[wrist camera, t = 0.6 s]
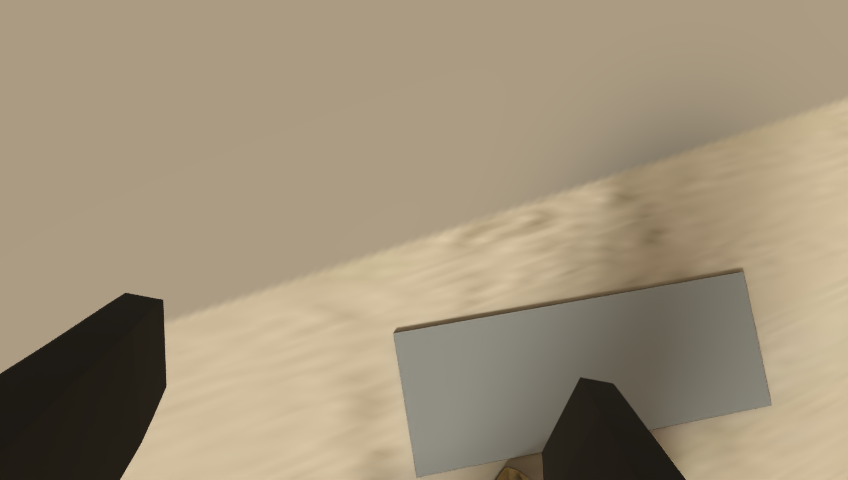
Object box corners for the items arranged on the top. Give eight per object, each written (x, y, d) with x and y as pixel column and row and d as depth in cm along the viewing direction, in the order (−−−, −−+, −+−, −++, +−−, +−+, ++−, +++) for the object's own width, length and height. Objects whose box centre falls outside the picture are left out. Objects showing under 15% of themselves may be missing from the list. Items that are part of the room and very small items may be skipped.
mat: (768, 404, 37) (771, 405, 37) (416, 475, 35) (416, 477, 35) (740, 271, 38) (743, 271, 38) (393, 333, 36) (393, 333, 35)
